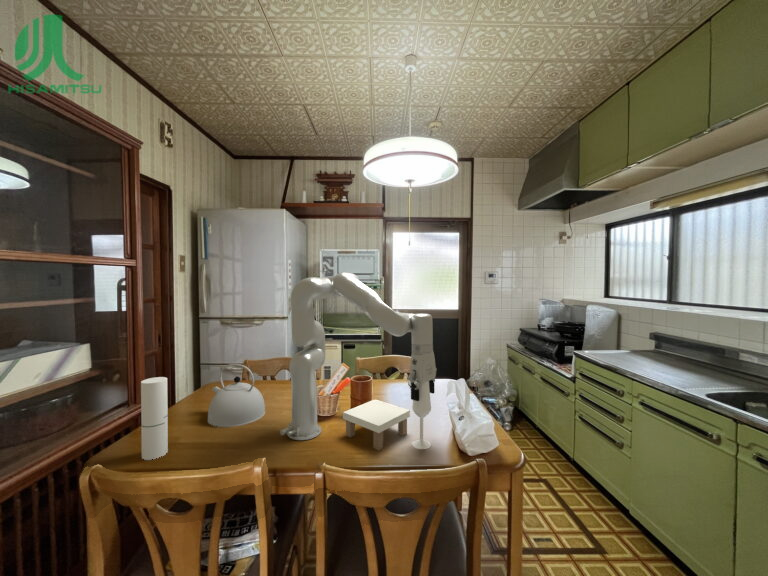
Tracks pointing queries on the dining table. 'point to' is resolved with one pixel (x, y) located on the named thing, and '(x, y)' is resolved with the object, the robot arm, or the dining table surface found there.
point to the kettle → (235, 403)
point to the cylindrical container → (154, 417)
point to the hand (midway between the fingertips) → (422, 396)
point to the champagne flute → (422, 412)
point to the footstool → (376, 419)
